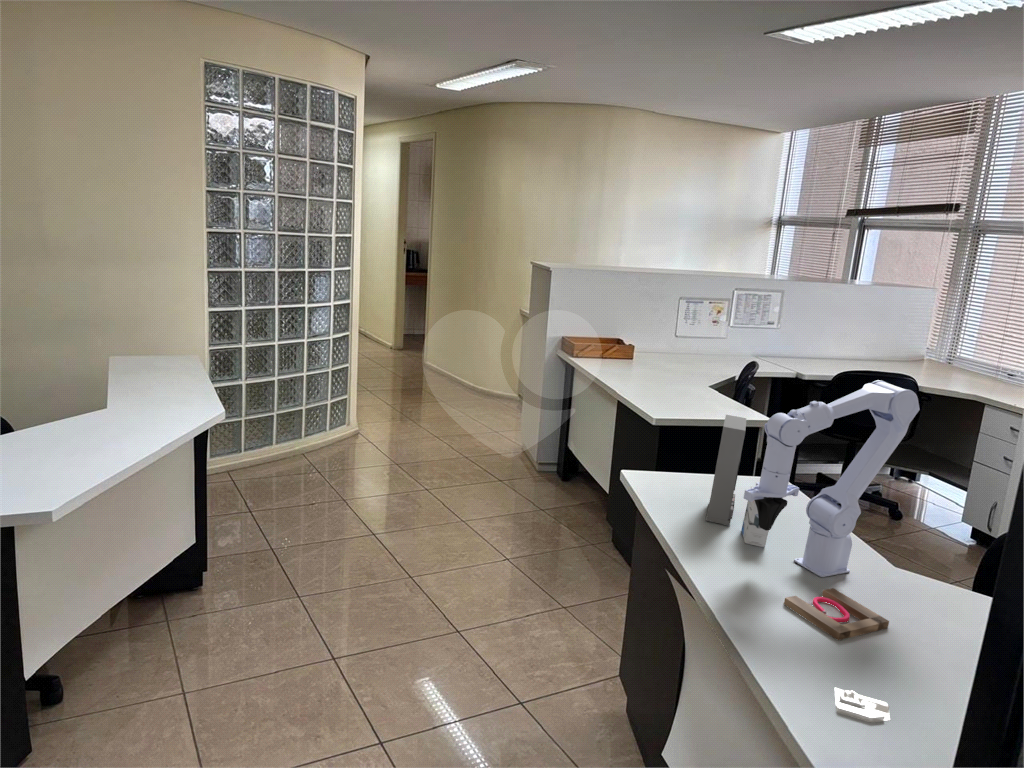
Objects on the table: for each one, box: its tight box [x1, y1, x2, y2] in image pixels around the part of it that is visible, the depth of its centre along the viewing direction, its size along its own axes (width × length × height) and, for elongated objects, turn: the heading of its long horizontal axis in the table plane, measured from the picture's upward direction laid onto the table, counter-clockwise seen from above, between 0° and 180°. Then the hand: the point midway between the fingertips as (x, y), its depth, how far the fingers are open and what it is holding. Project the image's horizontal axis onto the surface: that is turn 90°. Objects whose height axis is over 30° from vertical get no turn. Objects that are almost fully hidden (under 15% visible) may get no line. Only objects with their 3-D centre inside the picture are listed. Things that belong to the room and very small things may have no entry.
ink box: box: [741, 486, 770, 548], centre depth 173 cm, size 9×5×12 cm, turn 168°
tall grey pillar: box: [705, 414, 747, 526], centre depth 185 cm, size 14×6×25 cm, turn 161°
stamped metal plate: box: [834, 687, 891, 723], centre depth 114 cm, size 8×7×2 cm
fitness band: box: [811, 596, 851, 623], centre depth 143 cm, size 8×6×2 cm
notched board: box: [783, 587, 890, 641], centre depth 141 cm, size 14×13×2 cm
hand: (764, 528), depth 157 cm, fingers closed
